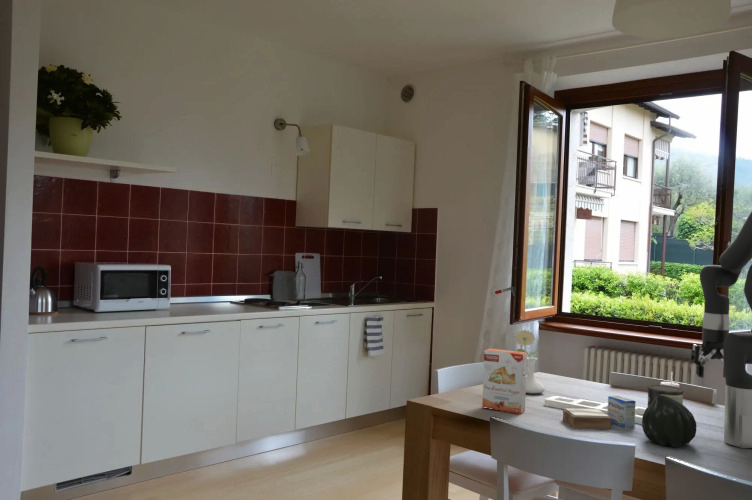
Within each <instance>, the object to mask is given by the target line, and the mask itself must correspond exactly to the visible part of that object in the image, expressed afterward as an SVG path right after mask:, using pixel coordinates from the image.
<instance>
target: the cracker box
mask: <svg viewBox="0 0 752 500" xmlns="http://www.w3.org/2000/svg"><path fill="white" fill-rule="evenodd" d="M527 353H528V352H527ZM527 353H526V351H525V352H517V350H515V351H514V350H508V349H507V350H506V349H499V348H490V347H489V348H487V349H485V350H484V353H483V379H482V380H483V381H482V403H481V405H482V407H487V408H492V409H495V410H494V411H498V410H500V411H499V412H504V411H506V412H505V413H510V412H511V413H512V414H517V415H521V414H522V413H524V412H525V411H526V394H527V393H526V377H527V366H528V364H527V357H528V355H527ZM511 413H510V414H511Z"/></svg>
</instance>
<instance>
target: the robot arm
mask: <svg viewBox="0 0 752 500" xmlns="http://www.w3.org/2000/svg"><path fill="white" fill-rule="evenodd" d="M718 260H719V261H718V263H719V265H718V264H707V265H705V266H703V267H702V268H701V269H700V272H699V282H700V285H701V289H702V294H703V298H704V310H703V316H702V329H701V330H702V334H701V335H702V336H701V341H702V343H701V345H698V344H695V343H693V344H692V346H691V352H690V353H691V354H690V362H691V363H692V364H695V365H696V366H695V369H696V370H695V373H696V376H697V377H698V378H702V379H704V372H705V367H704V365H705V364H706V362H709V360H710V359H711V360H721V361H722V363H723V371H722V374H723V375H722V377H723V378H724V379H725V391H724V392H725V393H724V421H723V422H724V424H723V425H724V426H723V428H724V433H723V442H724V443H726V444H728V445H731V446H735V447H739V448H741V449H752V374H750V373H749V372H748V371H747V370H746V365H752V328H751V330H750V332H730V302H731V301H730V298H729V297H728V296H727V295H725V294H722V293H721V294H720V293H719V291H718V289H717V288H730V287H733V286H734V285H735V284H736V283H737V282H738V280H739V277H740V276H741V272H742V270H743V268H744V267H745V266H746V265H747V264H748V263H750V261H751V260H752V210H751V211H750V213H749V215H748V216H747V218H746V219H745V221H744V223H743V225H742V226H741V229H740V231H739V232H738V234H737V236H736V237H735V238H734V240H733V241H732V242H731V243H730V245H729V246H727V248H726V249H725V250H724V251H723V252H722V253H721V254H720V256H719V259H718ZM743 292H744V293H743V294H744V296H745V299H746V301H747V304H748V306H749V309H750V311H751V312H752V264H751V265H750V266H749V268H748V270H747V273H746V279H745V282H744V286H743ZM700 352H701V354H700Z"/></svg>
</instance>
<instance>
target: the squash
mask: <svg viewBox="0 0 752 500" xmlns="http://www.w3.org/2000/svg"><path fill="white" fill-rule="evenodd" d="M645 408H646V410H645V412H644V414H643V415H642V416H643V417H642V424H641V427H642V430H643V433H644V435H645V436H646V437H647V439H648V440H649V441H650V442H652V443H654V444H658V445H660V446H663V447H668V446H669V447H672V448H678V447H680V446H681V445H683V446H684V445H688V444H689V443H691V441H692V440H693V439H694V438H695V437H696V435H697V421H696V418H695V416H694V415H693V413H692V412H691V411H690V410H689V409H688V408H687V407H686V406H685V405H684V404H681V403H680V402H678V401H676V400H674V399H672V398H670V397H667V396H664V395H660V394H659V395H658V396H657V397H656V398H655V399H654V401H653V402H652V403H651V404H650V405H649V406H648V405H647V407H645Z"/></svg>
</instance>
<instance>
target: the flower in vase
mask: <svg viewBox="0 0 752 500" xmlns="http://www.w3.org/2000/svg"><path fill="white" fill-rule="evenodd" d="M514 340H515V341H516V344H518V345H521V346H523V347H526V346H531V345H533V344H534V342H535V341H536V338H535V335H534V334H533V332H531V331H530V330H526V329H524V330H523V329H521V330H519V331H516V334H515V335H514ZM516 351H517V352H526V353H527V374H526V394H541V393H543V392H545V391H546V389H545V387H544V385H543V384H542V383H541V382H540V381H538V379H536V377H535V372H534V371H535V365H536V362H537V361H538V357H532V356H530V355H534V354H536V353H537V352H538V351H539V349H536V350H533V351H530V352H529V353H528V351H527V350H526V348H523V349H522V348H517V350H516Z"/></svg>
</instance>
